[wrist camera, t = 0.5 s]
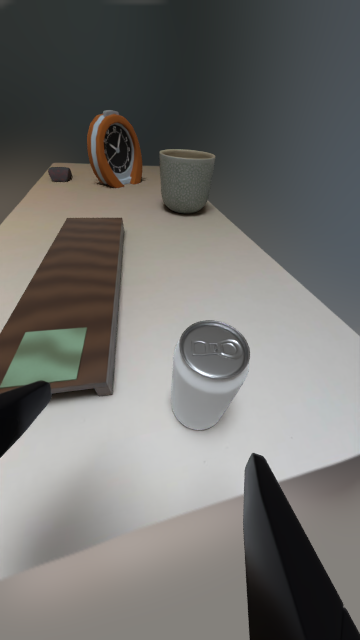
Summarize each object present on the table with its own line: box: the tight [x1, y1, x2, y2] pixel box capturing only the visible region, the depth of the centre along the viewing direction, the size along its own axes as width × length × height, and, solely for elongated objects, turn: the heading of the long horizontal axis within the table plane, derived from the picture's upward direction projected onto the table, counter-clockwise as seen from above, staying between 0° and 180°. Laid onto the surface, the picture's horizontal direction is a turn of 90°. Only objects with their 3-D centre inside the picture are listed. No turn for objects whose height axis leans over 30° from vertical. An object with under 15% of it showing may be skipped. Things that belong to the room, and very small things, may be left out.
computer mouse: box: [48, 167, 72, 182], centre depth 89 cm, size 8×14×4 cm, turn 14°
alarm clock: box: [87, 110, 142, 188], centre depth 82 cm, size 22×10×23 cm, turn 142°
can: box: [171, 320, 250, 430], centre depth 20 cm, size 6×6×12 cm
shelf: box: [0, 218, 124, 396], centre depth 38 cm, size 48×14×4 cm, turn 9°
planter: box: [160, 149, 215, 213], centre depth 66 cm, size 17×17×15 cm
